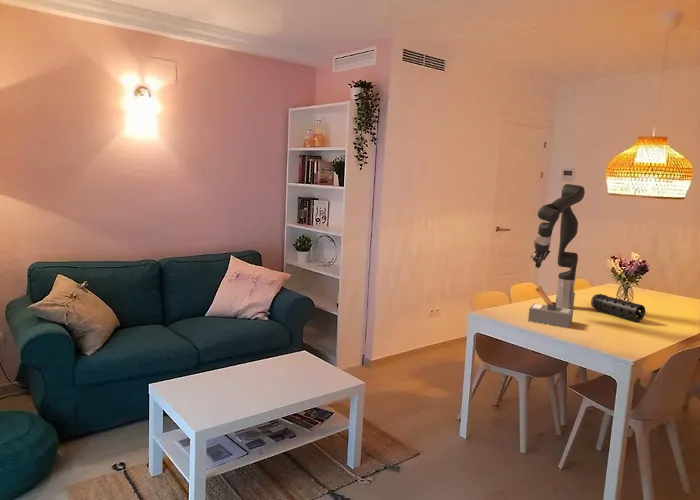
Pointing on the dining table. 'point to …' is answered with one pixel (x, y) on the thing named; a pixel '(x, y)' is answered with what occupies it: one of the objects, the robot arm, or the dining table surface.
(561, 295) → the robot arm
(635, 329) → the dining table surface
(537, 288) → the lever
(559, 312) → the breaker housing
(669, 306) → the dining table surface
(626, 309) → the muzzle brake
